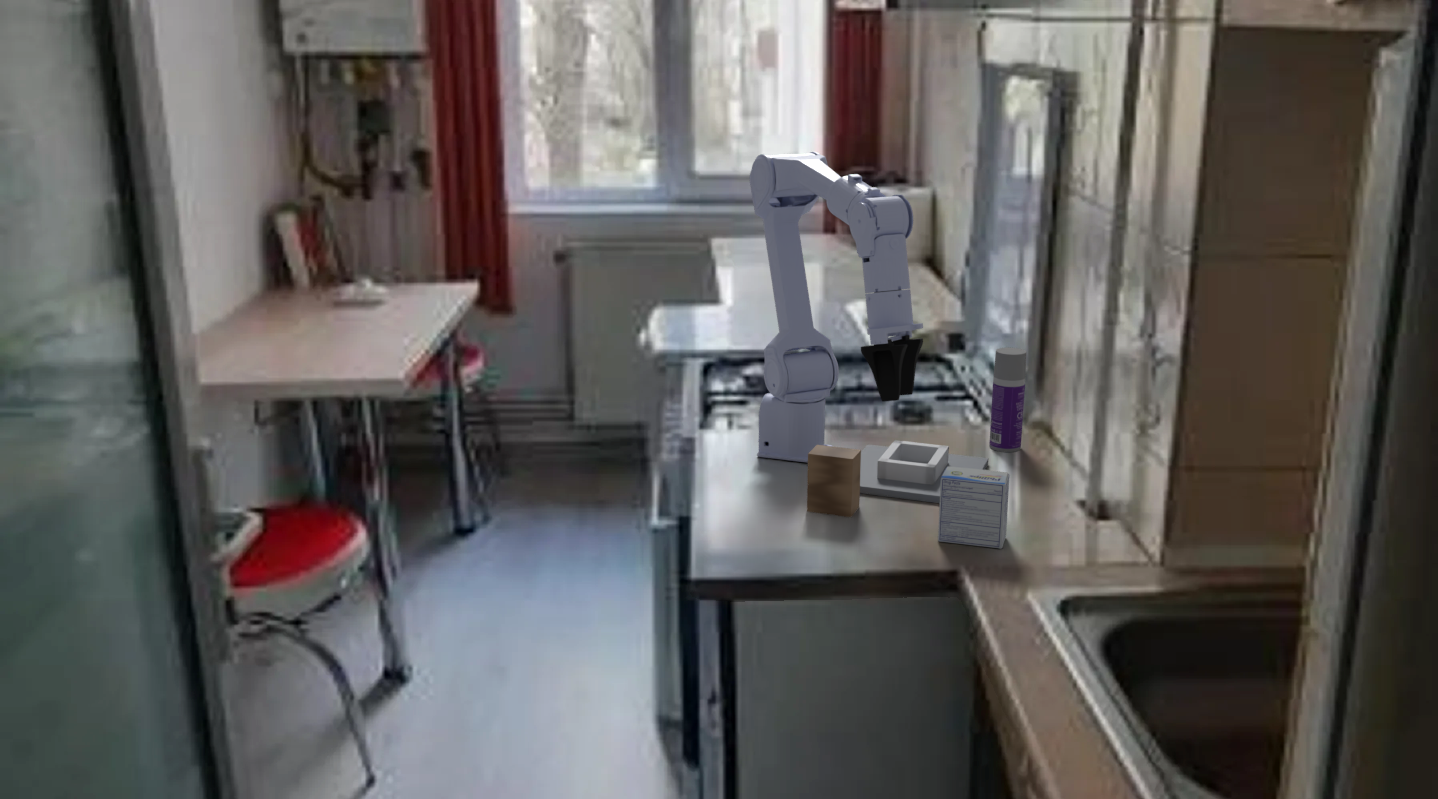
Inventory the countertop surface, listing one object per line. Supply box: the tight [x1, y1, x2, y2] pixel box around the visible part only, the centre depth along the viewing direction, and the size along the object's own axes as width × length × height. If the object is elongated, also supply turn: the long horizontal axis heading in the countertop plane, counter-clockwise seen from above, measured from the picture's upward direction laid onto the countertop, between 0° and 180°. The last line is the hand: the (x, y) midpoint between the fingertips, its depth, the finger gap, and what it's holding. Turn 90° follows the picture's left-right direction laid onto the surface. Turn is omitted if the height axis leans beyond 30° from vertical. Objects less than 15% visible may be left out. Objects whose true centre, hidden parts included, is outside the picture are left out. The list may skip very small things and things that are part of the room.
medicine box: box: [937, 466, 1011, 550], centre depth 156 cm, size 8×4×9 cm, turn 71°
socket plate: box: [860, 439, 989, 504], centre depth 179 cm, size 18×18×4 cm
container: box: [988, 346, 1027, 453], centre depth 190 cm, size 5×5×15 cm
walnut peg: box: [806, 445, 862, 518], centre depth 166 cm, size 6×4×8 cm, turn 69°
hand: (897, 397), depth 162 cm, fingers open, 7 cm apart
